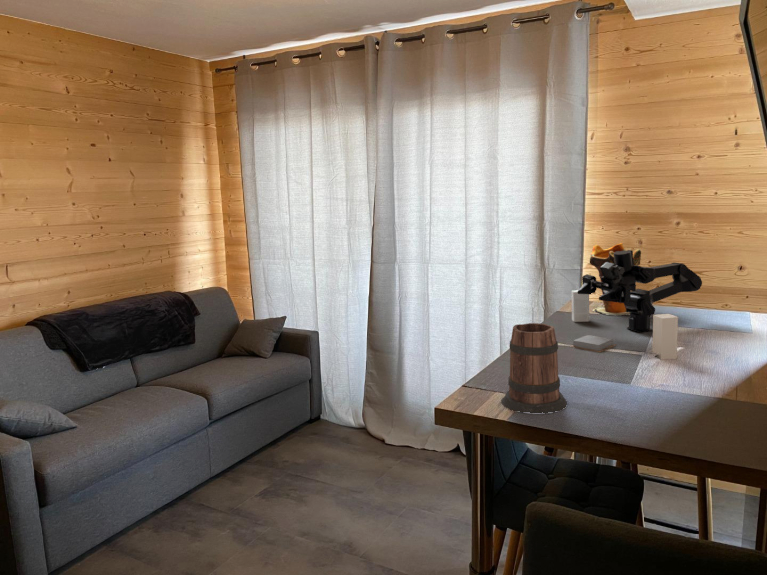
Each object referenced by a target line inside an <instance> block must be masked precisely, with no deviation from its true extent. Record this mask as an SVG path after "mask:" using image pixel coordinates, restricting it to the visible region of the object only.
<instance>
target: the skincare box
mask: <svg viewBox="0 0 767 575" xmlns="http://www.w3.org/2000/svg"><path fill="white" fill-rule="evenodd" d="M578 290H579V289H576V290H575V289H573V290H571V321H572V322H573V323H582V322H583V323H585V322H590V294H578Z"/></svg>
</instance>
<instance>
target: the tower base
mask: <svg viewBox="0 0 767 575" xmlns="http://www.w3.org/2000/svg"><path fill="white" fill-rule="evenodd" d="M616 346H617V344H616V343H613V345H612V346H609V347H607V348H605V349H602V350H600V351H595V350H590V349H585V348H580V347H575V346H573V344H571V345H569V347H570V348H574V349H580V350H585V351H589V352H595V353H602V352H604V351H607V350H609V349H611V348H613V347H616Z"/></svg>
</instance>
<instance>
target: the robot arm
mask: <svg viewBox="0 0 767 575" xmlns="http://www.w3.org/2000/svg"><path fill="white" fill-rule="evenodd" d="M633 253H634V251H633V250H632V249H627V250H626V251H616V252H614V262H615V264H613V263H609V262H606V263H605V264H603V265H602V266H601V267H600V270H601V272H602V275H603V277H601V281H602V282H601V281H599V280H597V277H596V276H595V275H592V274H585V275H583V276H582V277H581V279H582V280H581V281H582V285H581V286H580V287H579V289H577V290H578V294H589V295H592V294H594V293H596V291H597V290H598V289H599V290H601V292H602V293H603V294H601V295H600V296H599V297H598V300H599V301H602V302H603V301H610V302H618V303H624V305H625V308H626V312H630V315H629V318H628V326H627V327H626V329H627V328H628V329H627V330H629V329H631V330H630V331H632V330H634V331H633V332H635V331H637V332H636V333H642V332H641V331H645V332H650V331H649V330H652V331H653V328H651V316H653V315H655V312H656V308H655V306H654V305H653V304H654V303H657V302H659V301H661V300H664V299H666V298H669V297H672V296H675V295H677V294H679V293H684V292H685V293H691V292H697V291H699V290H700V289H701V287H702V286H703V280H702V279H701V276H699V275H698V274H697V273H696V272H694V271H693V270H691V269H690V268H689V267H688V266H687V265H686V264H685V263H681V262H671V263H668V264H667V263H666V264H662V265H654V266H641V265H638V266H637V265H634V262H633ZM669 276H671V277H672V280H673V281H671V282H668V283H665V284H663V285H659V286H658V287H655V288H652V289H649V290H647V289H641V288H637V284H636V283H639V284H643V285H644V284H645V285H647V284H649V283H653V282H654V281H655V279H659V278H664V277H669Z"/></svg>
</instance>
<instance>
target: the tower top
mask: <svg viewBox="0 0 767 575" xmlns="http://www.w3.org/2000/svg"><path fill="white" fill-rule="evenodd" d="M613 344H614V340H613V338H608V337H602V336H598V335H591V334H587V335H583V336H581V337H579V338H576V339H573V342H572V345H573V346H575V347H580V348H585V349H590V350H595V351H600V350H602V349H605V348H607V347H609V346H612V345H613ZM590 350H589V351H590ZM595 351H594V352H595Z"/></svg>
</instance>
